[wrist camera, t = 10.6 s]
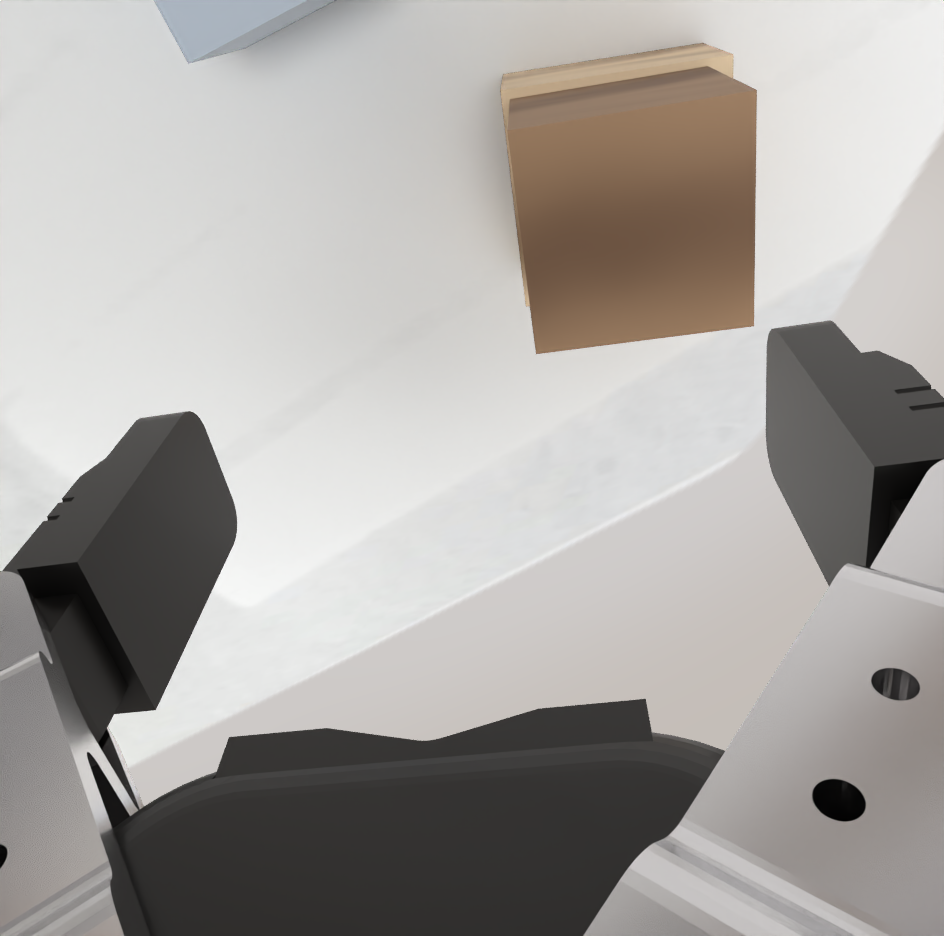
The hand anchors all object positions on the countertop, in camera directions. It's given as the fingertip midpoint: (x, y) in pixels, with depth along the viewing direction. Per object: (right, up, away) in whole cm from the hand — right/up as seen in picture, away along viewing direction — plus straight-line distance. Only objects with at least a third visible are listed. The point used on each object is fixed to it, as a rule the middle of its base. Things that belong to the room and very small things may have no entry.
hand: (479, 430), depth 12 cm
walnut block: (+5, +9, +15) cm, 18 cm away
